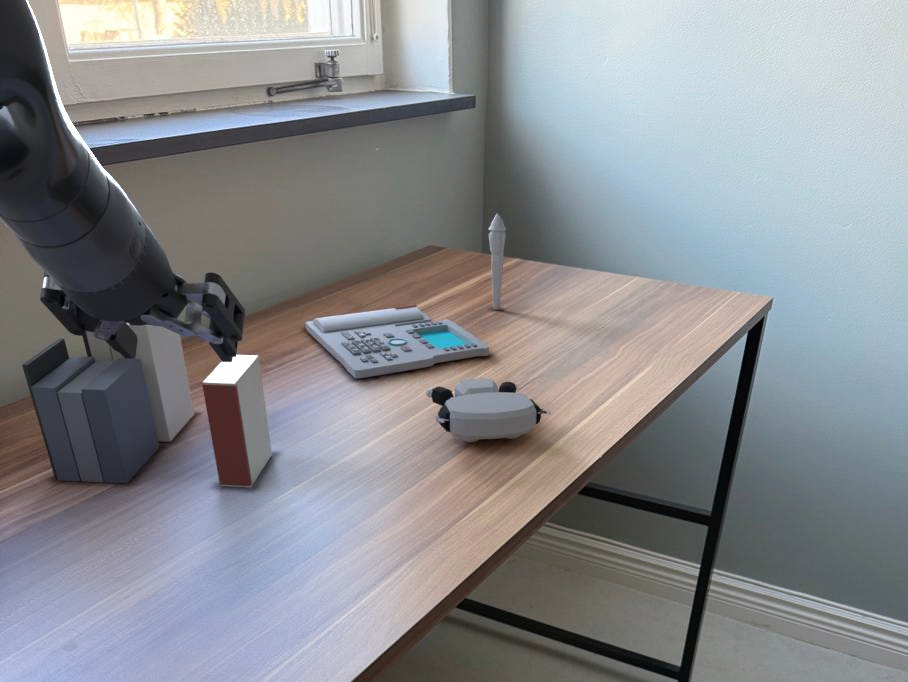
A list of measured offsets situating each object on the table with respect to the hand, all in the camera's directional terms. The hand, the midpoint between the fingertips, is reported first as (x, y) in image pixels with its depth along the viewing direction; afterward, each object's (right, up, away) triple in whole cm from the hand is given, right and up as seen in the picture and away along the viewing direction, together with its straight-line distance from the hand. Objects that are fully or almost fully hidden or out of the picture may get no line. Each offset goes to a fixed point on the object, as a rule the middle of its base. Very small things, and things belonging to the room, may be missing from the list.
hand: (180, 350), depth 78 cm
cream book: (+1, -7, +19) cm, 20 cm away
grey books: (-14, -6, +20) cm, 25 cm away
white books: (-12, 0, +28) cm, 30 cm away
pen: (+28, +27, +66) cm, 76 cm away
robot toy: (+26, 0, +29) cm, 39 cm away
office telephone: (+14, +17, +52) cm, 57 cm away
